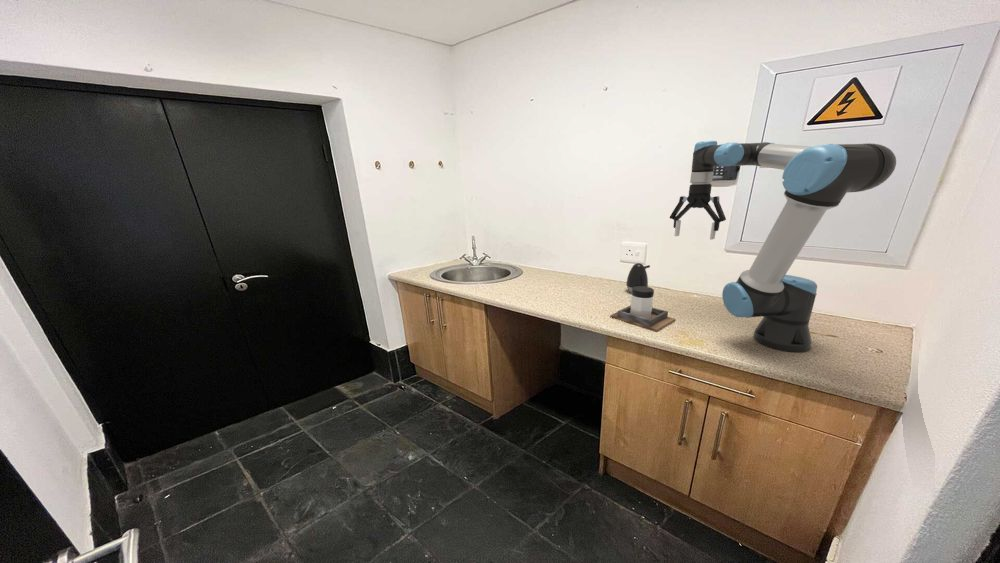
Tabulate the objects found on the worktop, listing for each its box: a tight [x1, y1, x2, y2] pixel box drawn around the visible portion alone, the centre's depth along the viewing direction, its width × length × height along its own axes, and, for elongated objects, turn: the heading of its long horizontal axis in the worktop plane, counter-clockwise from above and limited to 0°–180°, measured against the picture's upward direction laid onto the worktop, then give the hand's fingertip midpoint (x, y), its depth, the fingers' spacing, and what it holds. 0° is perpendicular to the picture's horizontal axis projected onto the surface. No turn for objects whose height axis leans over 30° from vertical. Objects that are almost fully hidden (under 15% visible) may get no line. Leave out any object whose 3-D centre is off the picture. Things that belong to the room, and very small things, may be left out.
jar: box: [630, 286, 655, 319], centre depth 135 cm, size 9×8×12 cm
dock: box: [610, 304, 676, 333], centre depth 137 cm, size 20×15×4 cm
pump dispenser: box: [625, 262, 651, 293], centre depth 168 cm, size 10×10×15 cm
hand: (693, 237), depth 137 cm, fingers open, 13 cm apart
